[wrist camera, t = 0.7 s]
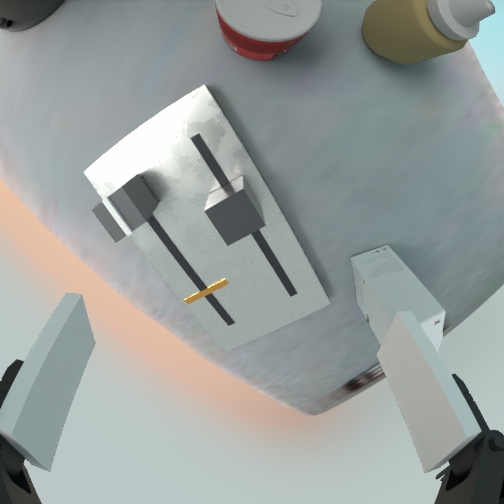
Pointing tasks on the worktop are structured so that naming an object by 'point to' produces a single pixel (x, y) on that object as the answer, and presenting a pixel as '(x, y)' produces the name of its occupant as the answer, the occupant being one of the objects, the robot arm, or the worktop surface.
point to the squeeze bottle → (422, 27)
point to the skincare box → (394, 294)
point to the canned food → (266, 25)
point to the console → (213, 223)
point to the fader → (126, 208)
